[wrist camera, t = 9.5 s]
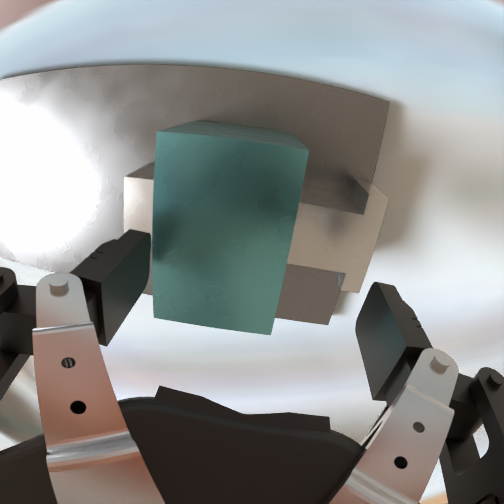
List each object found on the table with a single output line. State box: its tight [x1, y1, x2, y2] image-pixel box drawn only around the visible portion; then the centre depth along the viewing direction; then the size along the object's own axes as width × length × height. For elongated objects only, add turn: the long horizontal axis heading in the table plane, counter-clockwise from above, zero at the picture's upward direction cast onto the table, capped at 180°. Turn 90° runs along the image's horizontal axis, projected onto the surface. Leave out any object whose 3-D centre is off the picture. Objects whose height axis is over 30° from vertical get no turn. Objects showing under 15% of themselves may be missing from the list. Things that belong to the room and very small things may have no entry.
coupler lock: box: [152, 121, 309, 335], centre depth 14 cm, size 5×8×6 cm, turn 172°
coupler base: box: [0, 65, 389, 325], centre depth 16 cm, size 26×14×4 cm, turn 82°
